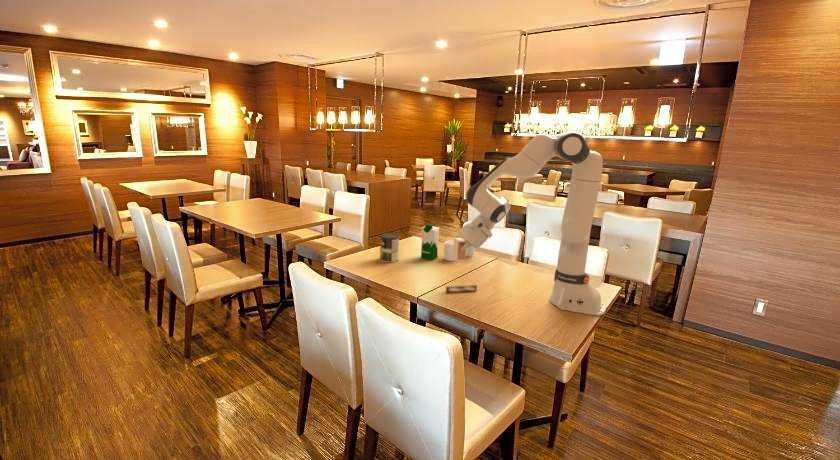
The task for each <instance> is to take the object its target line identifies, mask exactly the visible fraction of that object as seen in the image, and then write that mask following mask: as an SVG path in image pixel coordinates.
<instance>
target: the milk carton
mask: <svg viewBox="0 0 840 460" xmlns="http://www.w3.org/2000/svg"><path fill="white" fill-rule="evenodd" d="M420 230H421V250H420V259H422V258H423V259H424V260H426V261H427V260H429V261H434V260H436V259H437V258H438V257H439V256H438V255H439V253H438V250H439V249H438V247H439V233H440V232H439V231H440V227H439V226H433V224H432V223H425V226H423V227H421V229H420Z"/></svg>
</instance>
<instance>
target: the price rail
mask: <svg viewBox="0 0 840 460" xmlns="http://www.w3.org/2000/svg"><path fill="white" fill-rule="evenodd" d="M477 287H478V286H477V284H468V285H467V284H465V285H464V284H463V285H449V286H445V292H446V293H447V294H448V293H462V292H463V293H464V292H466V293H468V292H477V291H478V290H477Z"/></svg>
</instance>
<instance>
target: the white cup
mask: <svg viewBox="0 0 840 460" xmlns="http://www.w3.org/2000/svg"><path fill="white" fill-rule="evenodd" d="M443 244H444V245H443V246H444V248H443V251H444V260H445V261H447V262H456V261H455V260H454V259H453V252H454V240H446V241H445V240H444V243H443Z"/></svg>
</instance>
